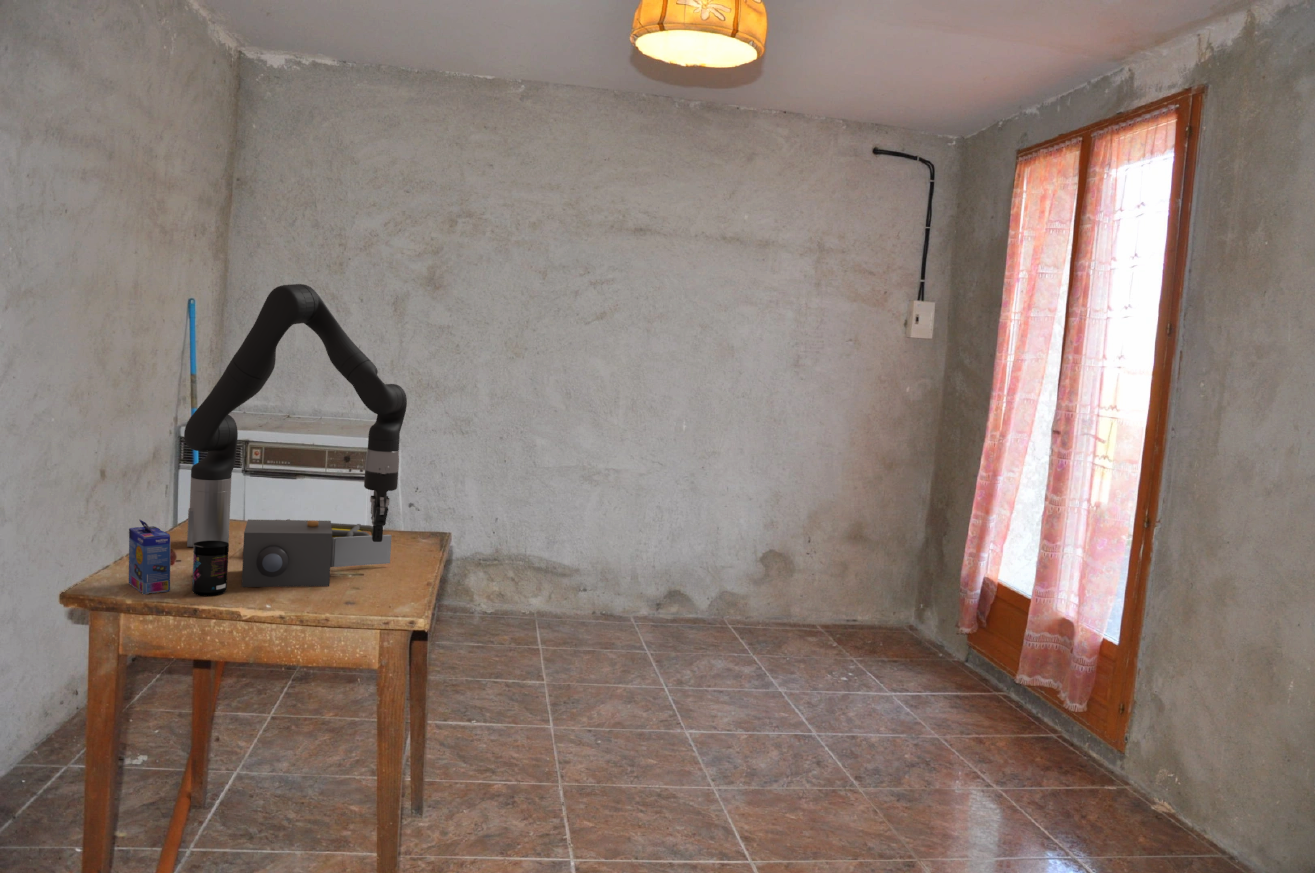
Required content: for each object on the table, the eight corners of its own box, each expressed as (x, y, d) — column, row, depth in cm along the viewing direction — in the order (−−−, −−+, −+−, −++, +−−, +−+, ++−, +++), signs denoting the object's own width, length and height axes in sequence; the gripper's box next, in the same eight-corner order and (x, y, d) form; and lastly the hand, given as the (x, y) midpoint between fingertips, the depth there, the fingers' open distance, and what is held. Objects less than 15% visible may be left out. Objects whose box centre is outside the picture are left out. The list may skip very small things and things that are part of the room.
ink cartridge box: (126, 584, 200) (128, 516, 198) (154, 580, 204) (156, 514, 202) (142, 595, 193) (144, 525, 191) (170, 591, 197) (173, 523, 195)
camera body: (240, 590, 202) (243, 530, 201) (245, 570, 218) (247, 515, 216) (329, 589, 208) (332, 531, 207) (327, 570, 224) (330, 516, 223)
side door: (390, 563, 232) (391, 535, 231) (330, 567, 223) (332, 538, 222) (388, 561, 233) (389, 534, 232) (328, 565, 224) (330, 536, 224)
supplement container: (207, 586, 203) (209, 538, 202) (234, 591, 201) (236, 543, 200) (184, 593, 196) (186, 544, 195) (211, 598, 195) (213, 549, 194)
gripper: (362, 463, 226) (357, 534, 228) (368, 473, 214) (363, 547, 215) (394, 465, 229) (389, 534, 231) (402, 474, 217) (396, 547, 218)
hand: (376, 541), depth 223 cm, fingers closed
